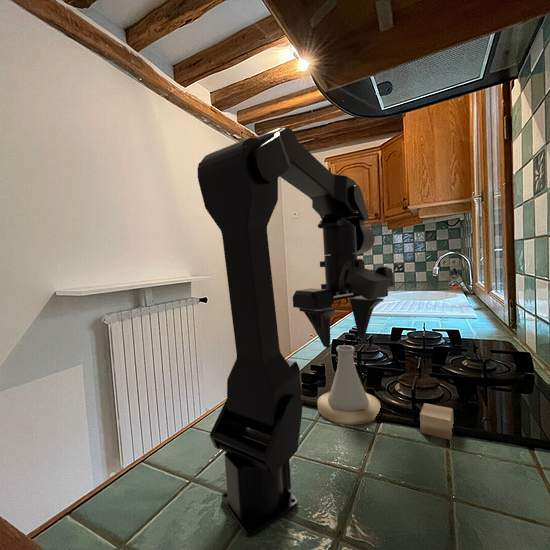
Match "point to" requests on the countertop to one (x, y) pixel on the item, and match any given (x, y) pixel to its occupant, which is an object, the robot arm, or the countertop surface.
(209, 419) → the countertop surface
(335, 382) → the flask
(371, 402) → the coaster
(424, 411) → the cork block
